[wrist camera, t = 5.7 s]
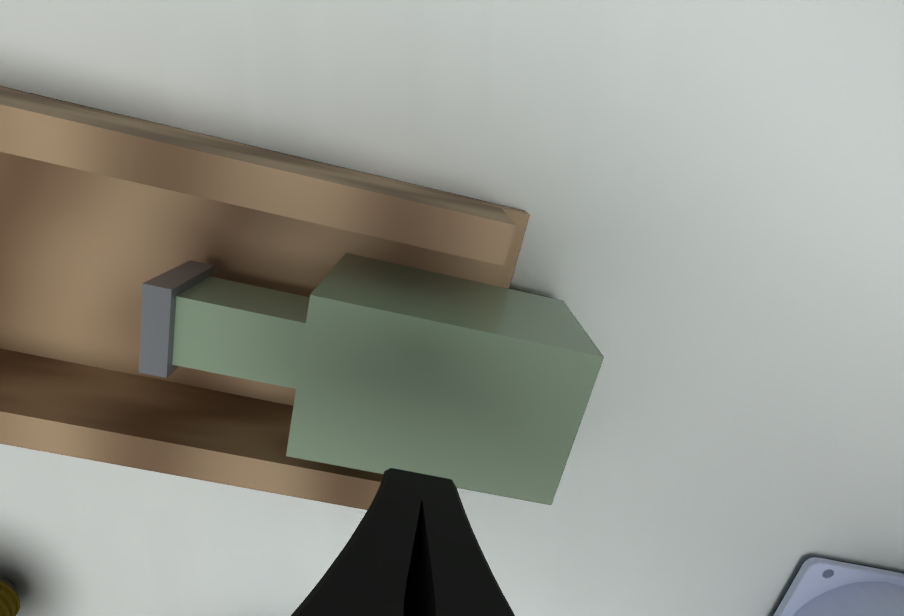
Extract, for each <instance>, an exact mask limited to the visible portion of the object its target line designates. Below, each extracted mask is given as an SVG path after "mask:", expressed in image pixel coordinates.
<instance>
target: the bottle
mask: <svg viewBox="0 0 904 616" xmlns="http://www.w3.org/2000/svg"><path fill="white" fill-rule="evenodd" d="M214 268H215V265H210V264H206V263H201V262H196V261H192V260H189V261H187V262H185V263H183V264H181V265H179V266H177V267H175V268H173V269H171V270H169V271H167V272H165V273H163V274H161V275H158V276H156V277H154V278H152V279H150V280H148V281H146V282H144V283H142V299H141V325H140V350H139V373H143V374H148V375H154V376H159V377H164V378H167V377H168V376H169V375H170V374H172V373H173V372H174V371H175V370H176V369H177V368H178V367H180V366H181V367H187V368H192V369H197V370H202V371H207V372H212V373H217V374H222V375H227V376H232V377H238V378H243V379H248V380H253V381H258V382H263V383H268V384H273V385H278V386H283V387H288V388H294V389H296V392H295V399H294V406H293V412H292V419H291V426H290V433H289V439H288V446H287V453H286V456H288V457H293V458H299V459H304V460H310V461H315V462H320V463H326V464H331V465H337V466H342V467H347V468H353V469H358V470H364V471H369V472H375V473H380V474H384V471H386V470H388V469H390V468H395V469H400V470H405V471H411V472H416V473H421V474H427V475H432V476H437V477H442V478H448V479H452V481H453V482H454V484H455V485H456V488H461V489H466V490H472V491H477V492H483V493H488V494H494V495H499V496H504V497H510V498H515V499H521V500H526V501H531V502H537V503H542V504H548V505H552V502H553V499H554V496H555V493H556V490H557V488H558V485H559V482H560V479H561V476H562V474H563V471H564V468H565V465H566V462H567V460H568V457H569V454H570V451H571V448H572V445H573V443H574V440H575V437H576V434H577V431H578V429H579V426H580V423H581V420H582V417H583V415H584V412H585V409H586V406H587V403H588V400H589V398H590V395H591V392H592V389H593V386H594V384H595V381H596V378H597V375H598V372H599V370H600V367H601V364H602V361H603V358H604V357H603V355H602V354H601V352H600V351H599V350H598V348H597V347H596V346H595V344H594V343H593V341H592V340H591V339H590V337H589V336H588V334H587V333H586V332H585V330H584V329H583V327H582V326H581V325H580V323H579V322H578V321H577V319H576V318H575V316H574V315H573V314H572V312H571V311H570V309H569V308H568V307H567V305H566V304H565V302H564V301H562V300H557V299H553V298H548V297H544V296H539V295H535V294H530V293H526V292H521V291H517V290H512V289H508V288H503V287H499V286H494V285H489V284H485V283H480V282H476V281H471V280H467V279H462V278H458V277H453V276H449V275H444V274H440V273H435V272H431V271H426V270H421V269H417V268H412V267H408V266H403V265H399V264H394V263H390V262H385V261H381V260H376V259H372V258H367V257H363V256H358V255H353V254H349V253H345V255H344V256H343V257H342V258H341V259H340V260H339V262H338V263H337V264H336V265H335V266H334V267H333V269H332V270H331V271H330V272H329V273H328V274H327V276H326V277H325V278H324V279H323V280H322V281H321V283H320V284H319V285H318V286H317V287H316V288H315V290H314V291H313V292H312V293H311V294H310V297H305V296H301V295H296V294H291V293H286V292H282V291H277V290H272V289H267V288H263V287H258V286H253V285H249V284H244V283H239V282H234V281H230V280H225V279H220V278H216V277H214Z"/></svg>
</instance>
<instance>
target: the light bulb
mask: <svg viewBox="0 0 904 616" xmlns="http://www.w3.org/2000/svg"><path fill="white" fill-rule="evenodd" d="M19 609H20V601H19V598H18V596H17V594H16V593H15V591H14V586H13V584H12V583H11V582H10V581H8V580H6V579H3V578H0V616H16V614H17V613H18V611H19Z"/></svg>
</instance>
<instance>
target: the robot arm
mask: <svg viewBox="0 0 904 616" xmlns="http://www.w3.org/2000/svg"><path fill="white" fill-rule="evenodd" d="M291 616H515V615H514V613H513V611H512V609H511V608H510V606H509V604H508V602H507V600H506V599H505V597H504V595H503V593H502V591H501V589H500V587H499V585H498V583H497V581H496V579H495V578H494V576H493V574H492V571H491V569H490V567H489V565H488V563H487V561H486V559H485V557H484V555H483V552H482V550H481V548H480V546H479V544H478V542H477V539H476V537H475V535H474V533H473V530H472V528H471V525H470V523H469V520H468V518H467V516H466V513H465V510H464V508H463V505H462V502H461V500H460V497H459V494H458V491H457V488H456V485H455V484H454V482H453V481H452V479H448V478H442V477H437V476H432V475H427V474H421V473H416V472H411V471H405V470H400V469H395V468H390V469H388V470H386V471H384V474H383V478H382V481H381V484H380V486H379V489H378V491H377V493H376V495H375V497H374V499H373V501H372V503H371V505H370V507H369V509H368V510H367V512H366V514H365V516H364V517H363V519H362V520H361V522H360V524H359V525H358V527H357V528H356V530H355V532H354V533H353V535H352V537H351V538H350V540H349V541H348V543H347V544H346V546H345V547H344V548H343V550H342V551H341V553H340V554H339V555H338V557H337V558H336V559H335V561H334V562H333V564H332V565H331V566H330V568H329V569H328V570H327V572H326V573H325V574H324V576H323V577H322V579H321V580H320V581H319V582H318V584H317V585H316V586H315V587H314V589H313V590H312V591H311V592H310V594H309V595H308V596H307V597H306V598H305V600H304V601H303V602H302V603H301V605H300V606H299V607H298V608H297V609H296V610H295V611H294V613H293V614H292V615H291ZM773 616H904V574H903V573H898V572H893V571H887V570H882V569H877V568H871V567H866V566H861V565H855V564H850V563H844V562H839V561H834V560H828V559H823V558H817V557H813V558H809V559H808V560H806V561H805V562H804V563H803V565H802V567H801V568H800V570H799V572H798V574H797V575H796V577H795V579H794V581H793V582H792V584H791V586H790V588H789V589H788V591H787V593H786V595H785V596H784V598H783V600H782V601H781V603H780V605H779V607H778V608H777V610H776V612H775V614H774V615H773Z"/></svg>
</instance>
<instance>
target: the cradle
mask: <svg viewBox="0 0 904 616" xmlns="http://www.w3.org/2000/svg"><path fill="white" fill-rule="evenodd" d="M529 216H530V215H529V214H528V213H527V212H526V211H523V210H519V209H515V208H511V207H506V206H502V205H498V204H494V203H490V202H485V201H481V200H477V199H473V198H469V197H464V196H460V195H456V194H452V193H448V192H443V191H439V190H435V189H431V188H427V187H422V186H418V185H414V184H410V183H406V182H401V181H397V180H393V179H389V178H385V177H380V176H376V175H372V174H368V173H364V172H359V171H355V170H351V169H347V168H343V167H338V166H334V165H330V164H326V163H321V162H317V161H313V160H309V159H305V158H300V157H296V156H292V155H288V154H284V153H279V152H275V151H271V150H267V149H263V148H258V147H254V146H250V145H246V144H242V143H237V142H233V141H229V140H225V139H221V138H216V137H212V136H208V135H204V134H200V133H195V132H191V131H187V130H183V129H179V128H174V127H170V126H166V125H162V124H158V123H153V122H149V121H145V120H141V119H137V118H132V117H128V116H124V115H120V114H116V113H111V112H107V111H103V110H99V109H95V108H90V107H86V106H82V105H78V104H74V103H69V102H65V101H61V100H57V99H53V98H48V97H44V96H40V95H36V94H32V93H27V92H23V91H19V90H15V89H11V88H6V87H2V86H0V444H6V445H11V446H17V447H22V448H28V449H33V450H39V451H45V452H50V453H56V454H61V455H67V456H72V457H78V458H83V459H89V460H94V461H100V462H105V463H111V464H116V465H122V466H127V467H133V468H138V469H144V470H149V471H155V472H160V473H166V474H171V475H177V476H183V477H188V478H194V479H199V480H205V481H210V482H216V483H221V484H227V485H232V486H238V487H243V488H249V489H254V490H260V491H265V492H271V493H276V494H282V495H287V496H293V497H298V498H304V499H310V500H315V501H321V502H326V503H332V504H337V505H343V506H348V507H354V508H359V509H365V510H368V509H369V507H370V505H371V503H372V501H373V499H374V497H375V495H376V493H377V491H378V489H379V486H380V484H381V481H382V478H383V474H380V473H375V472H369V471H364V470H358V469H353V468H347V467H342V466H337V465H331V464H326V463H320V462H315V461H310V460H304V459H299V458H293V457H288V456H286V453H287V446H288V439H289V433H290V426H291V419H292V412H293V406H294V399H295V392H296V389H294V388H288V387H283V386H278V385H273V384H268V383H263V382H258V381H253V380H248V379H243V378H238V377H232V376H227V375H222V374H217V373H212V372H207V371H202V370H197V369H192V368H187V367H181V366H180V367H178V368H177V369H176V370H175V371H174V372H173V373H172V374H170V375H169V376H168V377H167V378H164V377H159V376H154V375H148V374H143V373H139V350H140V325H141V299H142V283H144V282H146V281H148V280H150V279H152V278H154V277H156V276H158V275H161V274H163V273H165V272H167V271H169V270H171V269H173V268H175V267H177V266H179V265H181V264H183V263H185V262H187V261H189V260H192V261H196V262H201V263H206V264H210V265H215V268H214V277H216V278H220V279H225V280H230V281H234V282H239V283H244V284H249V285H253V286H258V287H263V288H267V289H272V290H277V291H282V292H286V293H291V294H296V295H301V296H305V297H310V294H311V293H312V292H313V291H314V290H315V288H316V287H317V286H318V285H319V284H320V283H321V281H322V280H323V279H324V278H325V277H326V276H327V274H328V273H329V272H330V271H331V270H332V269H333V267H334V266H335V265H336V264H337V263H338V262H339V260H340V259H341V258H342V257H343V256H344V255H345V253H349V254H353V255H358V256H363V257H367V258H372V259H376V260H381V261H385V262H390V263H394V264H399V265H403V266H408V267H412V268H417V269H421V270H426V271H431V272H435V273H440V274H444V275H449V276H453V277H458V278H462V279H467V280H471V281H476V282H480V283H485V284H489V285H494V286H499V287H503V288H508V289H509V287H510V283H511V280H512V276H513V273H514V269H515V265H516V262H517V258H518V255H519V251H520V248H521V244H522V241H523V237H524V233H525V230H526V226H527V223H528V219H529Z"/></svg>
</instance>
